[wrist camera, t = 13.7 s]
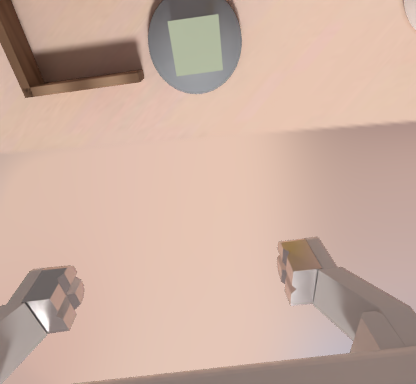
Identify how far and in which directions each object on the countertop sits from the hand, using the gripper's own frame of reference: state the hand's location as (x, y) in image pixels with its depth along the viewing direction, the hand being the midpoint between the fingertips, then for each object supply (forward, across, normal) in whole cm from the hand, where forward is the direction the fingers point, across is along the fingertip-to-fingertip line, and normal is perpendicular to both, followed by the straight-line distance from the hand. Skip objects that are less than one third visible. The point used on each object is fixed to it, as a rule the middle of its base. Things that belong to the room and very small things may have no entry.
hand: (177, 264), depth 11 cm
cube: (+28, -2, -7) cm, 29 cm away
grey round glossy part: (+29, -2, -7) cm, 30 cm away
